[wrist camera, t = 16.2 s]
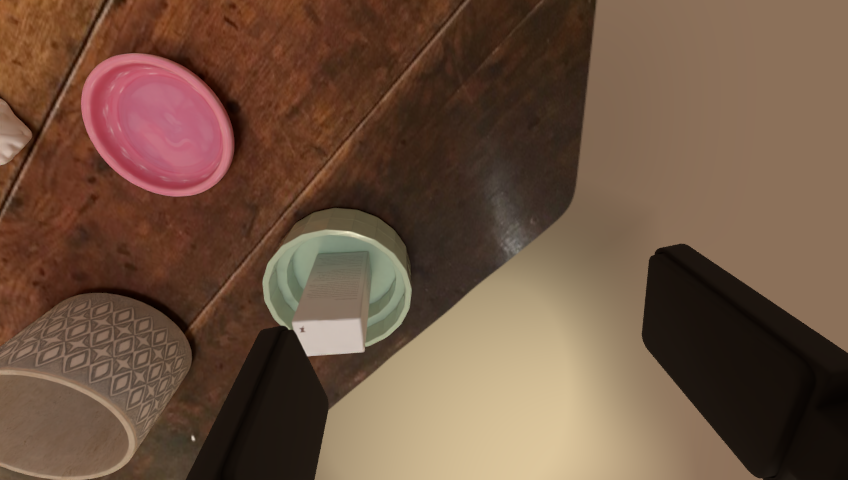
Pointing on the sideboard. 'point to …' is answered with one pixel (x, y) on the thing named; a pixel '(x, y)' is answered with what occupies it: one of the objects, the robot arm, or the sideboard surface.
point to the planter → (87, 385)
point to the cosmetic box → (335, 305)
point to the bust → (11, 134)
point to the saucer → (157, 124)
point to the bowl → (342, 236)
